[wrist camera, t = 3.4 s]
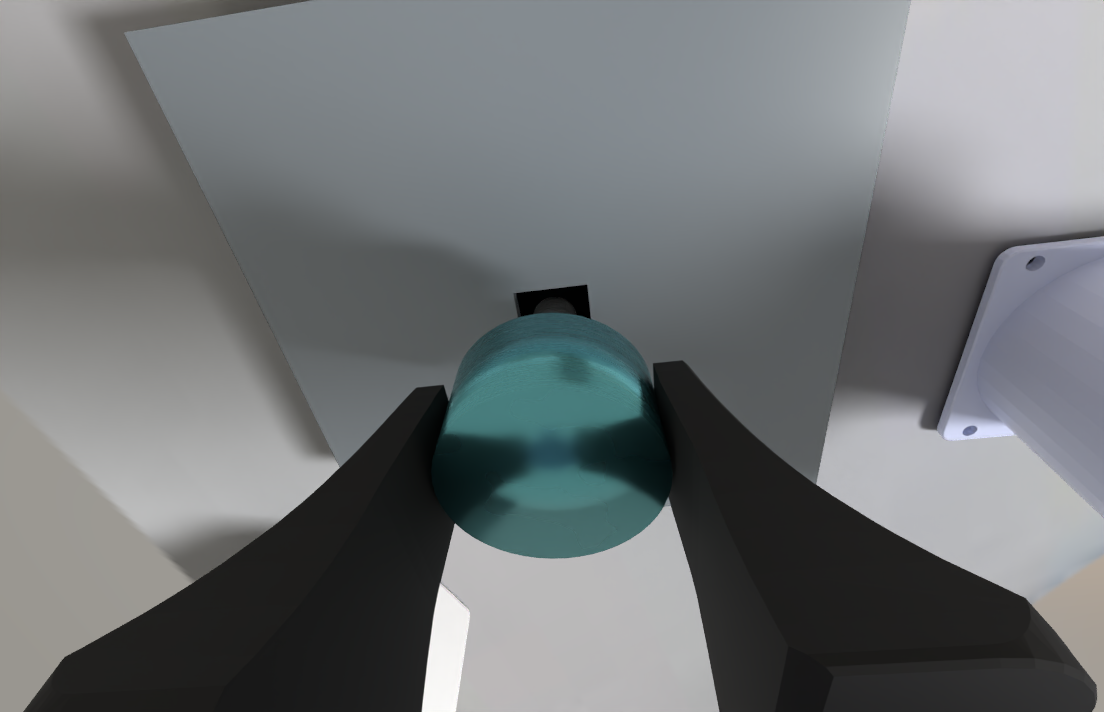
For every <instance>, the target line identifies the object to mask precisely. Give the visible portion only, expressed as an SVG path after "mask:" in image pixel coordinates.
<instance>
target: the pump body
mask: <svg viewBox="0 0 1104 712" xmlns="http://www.w3.org/2000/svg"><path fill="white" fill-rule="evenodd" d="M910 3H911V0H311V1H305V2H299V3H293V4H287V5H282V6H276V7H270V8H264V9H258V10H252V11H247V12H241V13H235V14H229V15H223V16H217V17H212V18H206V19H200V20H194V21H188V22H182V23H177V24H171V25H165V26H159V27H153V28H147V29H142V30H136V31H130V32H124V34H125V36H126V38H127V40H128V42H129V44H130V46H131V48H132V50H133V52H134V54H135V56H136V58H137V60H138V62H139V64H140V66H141V68H142V70H143V72H144V74H145V76H146V79H147V81H148V83H149V85H150V87H151V89H152V91H153V93H154V95H155V97H156V99H157V101H158V103H159V105H160V107H161V109H162V111H163V113H164V115H165V117H166V119H167V121H168V123H169V125H170V127H171V129H172V131H173V133H174V135H175V137H176V139H177V141H178V143H179V145H180V147H181V149H182V151H183V153H184V155H185V157H186V159H187V161H188V163H189V165H190V167H191V169H192V171H193V173H194V175H195V177H196V179H197V181H198V183H199V185H200V187H201V189H202V191H203V193H204V195H205V197H206V199H207V201H208V203H209V205H210V207H211V209H212V211H213V213H214V215H215V217H216V219H217V221H218V223H219V225H220V227H221V229H222V231H223V233H224V235H225V237H226V239H227V242H228V244H229V246H230V248H231V250H232V252H233V254H234V256H235V258H236V260H237V262H238V264H239V266H240V268H241V270H242V272H243V274H244V276H245V278H246V280H247V282H248V284H249V286H250V288H251V290H252V292H253V294H254V296H255V298H256V300H257V302H258V304H259V306H260V308H261V310H262V312H263V314H264V316H265V318H266V320H267V322H268V324H269V326H270V328H271V330H272V332H273V334H274V336H275V338H276V340H277V342H278V344H279V346H280V348H281V350H282V352H283V354H284V356H285V358H286V360H287V362H288V364H289V366H290V368H291V370H292V372H293V374H294V376H295V378H296V380H297V382H298V384H299V386H300V388H301V390H302V392H303V394H304V396H305V398H306V400H307V402H308V405H309V407H310V409H311V411H312V413H313V415H314V417H315V419H316V421H317V423H318V425H319V427H320V429H321V431H322V433H323V435H324V437H325V439H326V441H327V443H328V445H329V447H330V449H331V451H332V453H333V455H334V457H335V459H336V461H337V463H338V465H339V467H341V466H342V465H343V464H344V463H345V462H346V461H347V460H348V459H349V458H350V457H351V456H352V455H353V454H354V453H355V452H356V451H357V450H358V449H359V448H360V447H361V446H362V445H363V444H364V443H365V442H366V441H367V440H368V439H369V438H370V437H371V436H372V435H373V433H374V432H375V431H376V430H377V429H378V428H379V427H380V426H381V425H382V424H383V423H384V422H385V421H386V419H387V418H388V417H389V416H390V415H391V414H392V413H393V412H394V411H395V410H396V408H397V407H398V406H399V405H400V404H401V403H402V402H403V401H404V400H405V399H406V398H407V397H408V395H409V394H410V393H411V392H412V391H413V390H414V389H415V388H416V387H426V386H436V385H444V388H445V391H446V394H447V397H448V401H449V399H450V396H451V392H452V389H453V385H454V382H455V378H456V375H457V371H458V368H459V366H460V364H461V362H462V359H463V358H464V356H465V355H466V353H467V352H468V350H469V349H470V348H471V347H472V346H473V344H474V343H475V342H476V341H477V340H478V339H479V338H481V337H482V336H483V335H484V334H486V333H487V332H488V331H490V330H492V329H493V328H495V327H497V326H498V325H501V324H503V323H505V322H507V321H510V320H512V319H516V318H519V317H521V316H520V311H519V306H518V301H517V295H516V293H519V292H528V291H536V290H545V289H553V288H562V287H570V286H579V285H587V287H588V296H589V305H590V314H591V319H593V320H596V321H598V322H600V323H602V324H605V325H607V326H609V327H610V328H612V329H614V330H615V331H617V332H619V333H620V334H621V335H622V336H624V337H625V338H626V339H627V340H629V341H630V342H631V344H632V345H633V346H634V347H635V348H636V349H637V350H638V352H639V353H640V354H641V356H642V357H643V359H644V361H645V363H646V365H647V367H648V369H649V373H650V376H651V379H652V384H653V388H654V380H653V363H660V362H670V361H680V360H683V361H684V362H685V363H687V364H688V365H689V367H690V368H691V369H692V370H693V371H694V373H695V374H696V375H697V376H698V377H699V379H700V380H701V381H702V382H703V383H704V384H705V386H706V387H707V388H708V389H709V390H710V391H711V392H712V393H713V394H714V396H715V397H716V398H717V399H718V400H719V401H720V402H721V403H722V404H723V405H724V406H725V407H726V408H727V409H728V410H729V411H730V412H731V413H732V414H733V415H734V416H735V417H736V418H737V419H738V420H739V421H740V422H741V423H742V424H743V425H744V426H745V427H746V428H747V429H748V430H750V431H751V432H752V433H753V434H754V435H755V436H756V437H757V438H758V439H759V440H761V441H762V442H763V443H764V444H765V445H766V446H767V447H769V448H770V449H771V450H772V451H773V452H774V453H776V454H777V455H778V456H779V457H781V458H782V459H783V460H784V461H785V462H787V463H788V464H789V465H790V466H792V467H793V468H794V469H796V470H797V471H798V472H800V473H801V474H802V475H804V476H805V477H806V478H808V479H809V480H810V481H812V482H813V483H814V484H816V482H817V477H818V472H819V467H820V462H821V456H822V451H823V446H824V441H825V436H826V431H827V426H828V421H829V416H830V411H831V406H832V400H833V395H834V390H835V385H836V380H837V375H838V370H839V365H840V360H841V355H842V350H843V344H844V339H845V334H846V329H847V324H848V319H849V314H850V309H851V304H852V299H853V293H854V288H855V283H856V278H857V273H858V268H859V263H860V258H861V253H862V248H863V243H864V237H865V232H866V227H867V222H868V217H869V212H870V207H871V202H872V197H873V192H874V187H875V181H876V176H877V171H878V166H879V161H880V156H881V151H882V146H883V141H884V136H885V131H886V125H887V120H888V115H889V110H890V105H891V100H892V95H893V90H894V85H895V80H896V75H897V69H898V64H899V59H900V54H901V49H902V44H903V39H904V34H905V29H906V24H907V18H908V13H909V8H910ZM664 506H671V504H670V501H669V497H668V499H667V501H666V503H665V505H664Z"/></svg>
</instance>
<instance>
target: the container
mask: <svg viewBox="0 0 1104 712" xmlns="http://www.w3.org/2000/svg"><path fill="white" fill-rule="evenodd" d="M469 619H470V611H469V609H468V608H467V607H466V606H465V605H464V604H462V603H461V602H460V601H459V600H458V599H457V598H456V597H455V596H454V595H453V594H452V593H451V592H450V591H449V590H448V589H447V588H445V587H444V586H443V585H442V584H441V583H440V586H439V590H438V595H437V600H436V605H435V611H434V617H433V624H432V632H431V639H430V646H429V654H428V661H427V670H426V679H425V687H424V696H423V705H422V712H456V707H457V700H458V693H459V686H460V680H461V673H462V666H463V660H464V653H465V646H466V640H467V633H468V626H469Z"/></svg>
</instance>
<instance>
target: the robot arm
mask: <svg viewBox="0 0 1104 712" xmlns="http://www.w3.org/2000/svg"><path fill="white" fill-rule="evenodd" d="M1033 257H1035V259H1034V260H1033V262H1031V263H1030V264H1029V265H1027V263H1028V262H1029V260H1031V259H1032V258H1033ZM653 380H654V392H655V396H656V401H657V405H658V409H659V413H660V417H661V422H662V425H663V430H664V434H665V438H666V442H667V446H668V450H669V455H670V459H671V464H672V473H673V475H672V486H671V490H670V493H669V501H670V504H671V507H672V511H673V514H674V517H675V521H676V524H677V527H678V531H679V534H680V537H681V541H682V544H683V547H684V551H685V554H686V557H687V561H688V564H689V567H690V571H691V574H692V578H693V582H694V586H695V590H696V594H697V598H698V603H699V608H700V613H701V618H702V623H703V628H704V633H705V638H706V643H707V648H708V653H709V659H710V664H711V669H712V674H713V680H714V685H715V690H716V695H717V701H718V706H719V712H1092V710H1093V709H1094V707H1095V705H1096V700H1097V690H1096V689H1097V688H1096V684H1095V682H1094V681H1093V680H1092V679H1091V677H1090V676H1089V675H1088V674H1087V672H1086V671H1085V670H1084V669H1083V667H1082V666H1081V665H1080V663H1079V662H1078V661H1077V660H1076V658H1075V657H1074V656H1073V654H1072V653H1071V652H1070V650H1069V649H1068V647H1067V646H1066V645H1065V644H1064V642H1063V641H1062V640H1061V638H1060V637H1059V636H1058V635H1057V633H1056V632H1055V631H1054V630H1053V629H1052V627H1051V626H1050V625H1049V624H1048V623H1047V622H1046V621H1045V620H1044V619H1043V617H1042V616H1041V615H1040V614H1039V613H1038V612H1037V611H1036V610H1035V609H1034V607H1033V606H1032V605H1031V604H1030V603H1029V602H1028V601H1027V599H1026V598H1024V597H1022V596H1020V595H1018V594H1015V593H1013V592H1011V591H1009V590H1007V589H1005V588H1003V587H1001V586H999V585H996V584H994V583H992V582H990V581H988V580H986V579H984V578H982V577H979V576H977V575H975V574H973V573H971V572H969V571H967V570H965V569H962V568H960V567H958V566H956V565H954V564H952V563H950V562H948V561H945V560H943V559H941V558H940V557H938V556H936V555H934V554H932V553H930V552H928V551H926V550H924V549H922V548H921V547H919V546H917V545H915V544H913V543H911V542H909V541H908V540H906V539H904V538H902V537H900V536H898V535H896V534H895V533H893V532H891V531H889V530H888V529H886V528H884V527H882V526H881V525H879V524H877V523H875V522H874V521H872V520H870V519H869V518H867V517H866V516H864V515H862V514H861V513H859V512H858V511H856V510H854V509H853V508H851V507H850V506H848V505H846V504H845V503H843V502H842V501H840V500H838V499H837V498H835V497H834V496H832V495H831V494H829V493H828V492H826V491H825V490H823V489H822V488H820V487H819V486H817V485H816V484H814V483H813V482H812V481H810V480H809V479H808V478H806V477H805V476H804V475H802V474H801V473H800V472H798V471H797V470H796V469H794V468H793V467H792V466H790V465H789V464H788V463H787V462H785V461H784V460H783V459H782V458H781V457H779V456H778V455H777V454H776V453H774V452H773V451H772V450H771V449H770V448H769V447H767V446H766V445H765V444H764V443H763V442H762V441H761V440H759V439H758V438H757V437H756V436H755V435H754V434H753V433H752V432H751V431H750V430H748V429H747V428H746V427H745V426H744V425H743V424H742V423H741V422H740V421H739V420H738V419H737V418H736V417H735V416H734V415H733V414H732V413H731V412H730V411H729V410H728V409H727V408H726V407H725V406H724V405H723V404H722V403H721V402H720V401H719V400H718V399H717V398H716V397H715V396H714V394H713V393H712V392H711V391H710V390H709V389H708V388H707V387H706V386H705V384H704V383H703V382H702V381H701V380H700V379H699V377H698V376H697V375H696V374H695V373H694V371H693V370H692V369H691V368H690V367H689V365H688V364H687V363H685V362H684V361H683V360H680V361H670V362H660V363H653ZM448 403H449V401H448V397H447V394H446V391H445V388H444V385H436V386H426V387H416V388H415V389H414V390H413V391H412V392H411V393H410V394H409V395H408V397H407V398H406V399H405V400H404V401H403V402H402V403H401V404H400V405H399V406H398V407H397V408H396V410H395V411H394V412H393V413H392V414H391V415H390V416H389V417H388V418H387V419H386V421H385V422H384V423H383V424H382V425H381V426H380V427H379V428H378V429H377V430H376V431H375V432H374V433H373V435H372V436H371V437H370V438H369V439H368V440H367V441H366V442H365V443H364V444H363V445H362V446H361V447H360V448H359V449H358V450H357V451H356V452H355V453H354V454H353V455H352V456H351V457H350V458H349V459H348V460H347V461H346V462H345V463H344V464H343V465H342V466H341V467H340V468H339V469H338V470H337V471H336V472H335V473H334V474H333V475H332V476H331V477H330V478H329V479H328V480H327V481H326V482H325V483H324V484H323V485H321V486H320V487H319V488H318V489H317V490H316V491H315V492H314V493H313V494H311V495H310V496H309V497H308V498H307V499H306V500H305V501H303V502H302V503H301V504H300V505H299V506H298V507H296V508H295V509H294V510H293V511H291V512H290V513H289V514H288V515H287V516H285V517H284V518H283V519H282V520H281V521H279V522H278V523H277V524H276V525H274V526H273V527H272V528H270V529H269V530H268V531H266V532H265V533H264V534H262V535H261V536H260V537H258V538H257V539H255V540H254V541H253V542H251V543H250V544H249V545H247V546H246V547H244V548H243V549H242V550H240V551H239V552H238V553H236V554H235V555H233V556H232V557H231V558H229V559H228V560H227V561H225V562H224V563H222V564H221V565H219V566H218V567H217V568H215V569H214V570H212V571H211V572H209V573H207V574H206V575H204V576H203V577H201V578H200V579H198V580H197V581H195V582H194V583H192V584H191V585H189V586H188V587H186V588H184V589H183V590H181V591H180V592H178V593H177V594H175V595H174V596H172V597H170V598H168V599H167V600H165V601H164V602H162V603H160V604H159V605H157V606H155V607H154V608H152V609H150V610H149V611H147V612H145V613H144V614H142V615H140V616H139V617H137V618H135V619H133V620H131V621H129V622H128V623H126V624H124V625H122V626H120V627H119V628H117V629H115V630H113V631H111V632H110V633H108V634H106V635H104V636H103V637H101V638H99V639H97V640H95V641H94V642H92V643H90V644H88V645H86V646H85V647H83V648H81V649H79V650H77V651H75V652H73V653H72V654H70V655H68V656H66V657H65V658H64V659H63V660H62V661H61V662H60V664H59V665H58V667H57V668H56V669H55V671H54V672H53V673H52V674H51V676H50V677H49V679H48V680H47V681H46V682H45V684H44V685H43V686H42V688H41V689H40V690H39V692H38V693H37V695H36V696H35V697H34V699H33V700H32V701H31V702H30V704H29V705H28V706H27V708H26V709H25V710H24V712H422V705H423V696H424V687H425V679H426V670H427V661H428V654H429V646H430V639H431V632H432V624H433V617H434V611H435V605H436V600H437V595H438V590H439V586H440V582H441V578H442V574H443V570H444V565H445V561H446V557H447V553H448V549H449V545H450V540H451V536H452V532H453V528H454V524H455V523H454V521H453V520H452V519H451V518H450V517H449V516H448V515H447V514H446V512H445V511H444V509H443V508H442V506H441V505H440V503H439V501H438V499H437V497H436V495H435V491H434V488H433V484H432V476H431V468H432V460H433V456H434V453H435V449H436V445H437V442H438V438H439V435H440V431H441V428H442V424H443V421H444V417H445V414H446V410H447V407H448ZM937 431H938V433H939V434H940V435H941V436H942V438H943V439H945V440H951V441H953V440H964V439H976V438H988V437H999V436H1011V435H1017V436H1018V437H1019V438H1020V439H1021V440H1022V441H1023V442H1024V443H1025V444H1026V445H1027V446H1028V447H1029V448H1030V449H1031V450H1032V451H1033V452H1034V453H1036V454H1037V455H1038V456H1039V457H1040V458H1041V459H1042V460H1043V461H1044V462H1045V463H1046V464H1047V465H1048V466H1049V467H1050V468H1051V469H1052V470H1053V471H1054V472H1056V473H1057V474H1058V475H1059V476H1060V477H1061V478H1062V479H1063V480H1064V481H1065V482H1066V483H1067V484H1068V485H1069V486H1070V487H1071V488H1072V489H1073V490H1074V491H1076V492H1077V493H1078V494H1079V495H1080V496H1081V497H1082V498H1083V499H1084V500H1085V501H1086V502H1087V503H1088V504H1089V505H1090V506H1091V507H1092V508H1093V509H1094V510H1096V511H1097V512H1098V513H1099V514H1100V515H1101V516H1102V517H1103V518H1104V236H1102V237H1093V238H1084V239H1075V240H1067V241H1058V242H1049V243H1041V244H1032V245H1023V246H1015V247H1012V248H1009V249H1007V250H1005V251H1004V252H1002V253H1001V254H1000V255H999V256H998V257H997V259H996V261H995V262H994V265H993V268H992V271H991V274H990V276H989V279H988V282H987V285H986V288H985V291H984V294H983V297H982V300H981V302H980V305H979V308H978V311H977V314H976V317H975V320H974V323H973V326H972V328H971V331H970V334H969V337H968V340H967V343H966V346H965V349H964V351H963V354H962V357H961V360H960V363H959V366H958V369H957V372H956V375H955V377H954V380H953V383H952V386H951V389H950V392H949V395H948V398H947V401H946V403H945V406H944V409H943V412H942V415H941V418H940V421H939V424H938V426H937Z"/></svg>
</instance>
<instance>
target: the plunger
mask: <svg viewBox="0 0 1104 712" xmlns="http://www.w3.org/2000/svg"><path fill="white" fill-rule="evenodd" d="M672 475H673V473H672V464H671V459H670V455H669V450H668V446H667V442H666V438H665V434H664V430H663V425H662V422H661V417H660V413H659V409H658V405H657V401H656V396H655V392H654V388H653V384H652V379H651V376H650V373H649V369H648V367H647V365H646V363H645V361H644V359H643V357H642V356H641V354H640V353H639V352H638V350H637V349H636V348H635V347H634V346H633V345H632V344H631V342H630V341H629V340H627V339H626V338H625V337H624V336H622V335H621V334H620V333H619V332H617V331H615V330H614V329H612V328H610V327H609V326H607V325H605V324H602V323H600V322H598V321H596V320H593V319H589V318H586V317H583V316H578V315H576V311H575V308H574V306H573V305H572V304H571V303H570V302H569V301H568V300H566V299H564V298H561V297H549V298H546V299H544V300H542V301H541V302H540V303H539V304H538V305H537V306H536V308H535V310H534V314H532V315H527V316H522V317H519V318H516V319H512V320H510V321H507V322H505V323H503V324H501V325H498V326H497V327H495V328H493V329H492V330H490V331H488V332H487V333H486V334H484V335H483V336H482V337H481V338H479V339H478V340H477V341H476V342H475V343H474V344H473V346H472V347H471V348H470V349H469V350H468V352H467V353H466V355H465V356H464V358H463V359H462V362H461V364H460V366H459V368H458V371H457V375H456V378H455V382H454V385H453V389H452V392H451V396H450V399H449V403H448V407H447V410H446V414H445V417H444V421H443V424H442V428H441V431H440V435H439V438H438V442H437V445H436V449H435V453H434V456H433V460H432V468H431V476H432V484H433V488H434V491H435V495H436V497H437V499H438V501H439V503H440V505H441V506H442V508H443V509H444V511H445V512H446V514H447V515H448V516H449V517H450V518H451V519H452V520H453V521H454V523H456V524H457V525H458V526H459V527H460V528H461V529H463V530H464V531H465V532H467V533H468V534H470V535H471V536H472V537H474V538H476V539H478V540H479V541H481V542H483V543H485V544H487V545H490V546H492V547H495V548H497V549H500V550H503V551H506V552H509V553H513V554H518V555H522V556H528V557H536V558H571V557H580V556H585V555H590V554H594V553H598V552H601V551H605V550H607V549H610V548H612V547H615V546H618V545H620V544H622V543H624V542H625V541H627V540H629V539H631V538H632V537H634V536H635V535H637V534H639V533H640V532H641V531H642V530H644V529H645V528H646V527H647V526H648V525H650V523H651V522H652V521H653V520H654V519H655V518H656V517H657V516H658V514H659V513H660V511H661V510H662V508H663V507H664V505H665V503H666V501H667V499H668V497H669V493H670V490H671V486H672Z"/></svg>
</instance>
